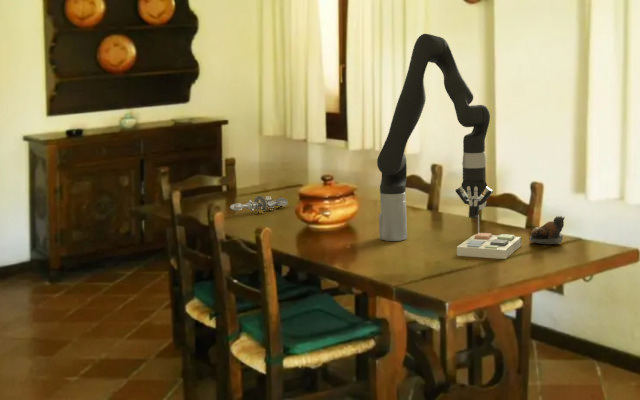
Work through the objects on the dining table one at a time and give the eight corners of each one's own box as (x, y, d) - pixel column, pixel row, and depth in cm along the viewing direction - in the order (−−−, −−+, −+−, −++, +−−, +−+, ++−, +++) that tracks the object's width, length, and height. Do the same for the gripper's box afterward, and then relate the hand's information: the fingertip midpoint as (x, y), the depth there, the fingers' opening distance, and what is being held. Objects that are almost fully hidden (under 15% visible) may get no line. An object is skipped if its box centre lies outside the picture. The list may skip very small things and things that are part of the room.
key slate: (467, 250, 302) (467, 243, 302) (471, 247, 306) (471, 240, 306) (480, 251, 300) (480, 244, 300) (484, 248, 304) (484, 241, 304)
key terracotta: (474, 242, 309) (474, 235, 309) (478, 239, 313) (478, 232, 313) (487, 243, 307) (487, 236, 306) (491, 240, 311) (491, 233, 310)
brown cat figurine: (526, 244, 309) (526, 215, 308) (534, 240, 315) (534, 212, 313) (561, 247, 303) (560, 218, 301) (568, 243, 308) (568, 214, 307)
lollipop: (486, 236, 325) (486, 195, 322) (470, 236, 326) (469, 195, 323) (487, 232, 331) (486, 192, 328) (470, 232, 332) (470, 192, 329)
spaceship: (221, 201, 377) (233, 195, 371) (279, 196, 403) (291, 190, 398) (226, 219, 375) (238, 213, 370) (283, 213, 402) (296, 208, 397)
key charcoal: (490, 249, 298) (490, 242, 298) (494, 246, 302) (494, 239, 302) (504, 250, 296) (503, 243, 296) (507, 247, 300) (507, 240, 300)
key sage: (497, 244, 305) (497, 236, 305) (501, 241, 309) (501, 234, 309) (510, 245, 303) (510, 237, 303) (514, 241, 307) (514, 234, 307)
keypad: (456, 255, 299) (456, 245, 298) (475, 242, 316) (475, 232, 315) (505, 259, 291) (505, 248, 290) (521, 245, 308) (521, 235, 308)
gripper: (496, 164, 298) (496, 215, 301) (458, 163, 304) (459, 213, 307) (490, 168, 291) (490, 220, 295) (451, 166, 298) (451, 217, 301)
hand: (474, 216), depth 301 cm, fingers closed
